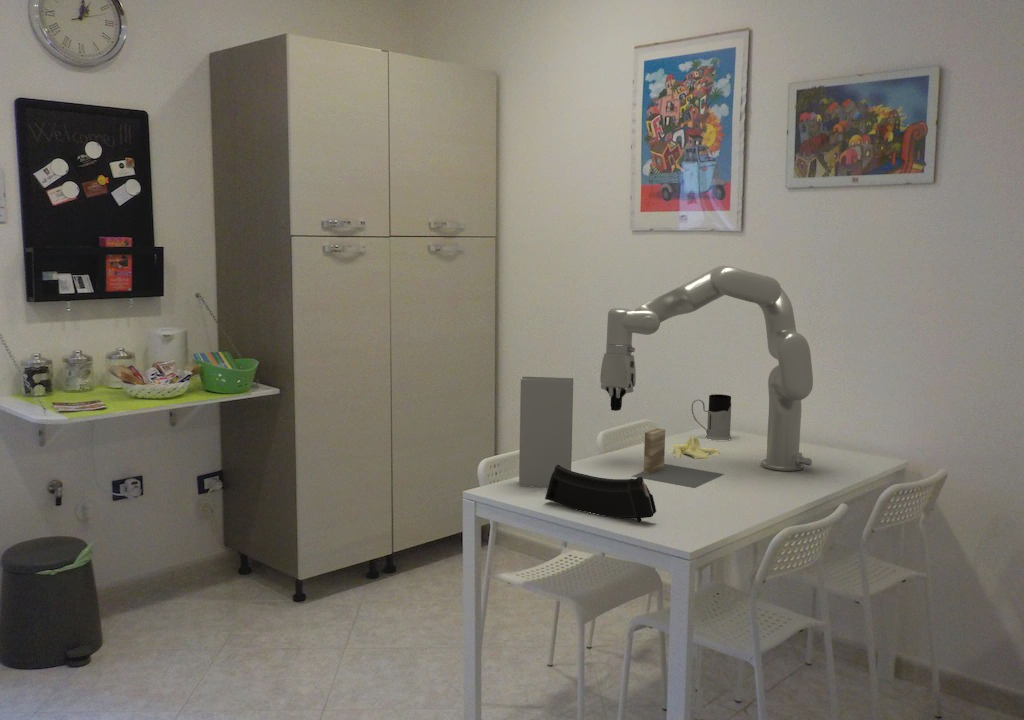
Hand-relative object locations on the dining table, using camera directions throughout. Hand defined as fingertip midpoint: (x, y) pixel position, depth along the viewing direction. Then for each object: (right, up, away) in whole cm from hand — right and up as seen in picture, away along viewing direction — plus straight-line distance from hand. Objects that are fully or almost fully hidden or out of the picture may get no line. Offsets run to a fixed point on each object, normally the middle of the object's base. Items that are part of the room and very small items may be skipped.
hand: (615, 409), depth 283 cm
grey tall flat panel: (-22, -20, -21) cm, 36 cm away
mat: (+17, -19, -10) cm, 27 cm away
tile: (+11, -18, -5) cm, 21 cm away
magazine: (-10, -24, -47) cm, 54 cm away
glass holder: (+38, -13, +44) cm, 59 cm away
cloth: (+26, -16, +20) cm, 37 cm away
